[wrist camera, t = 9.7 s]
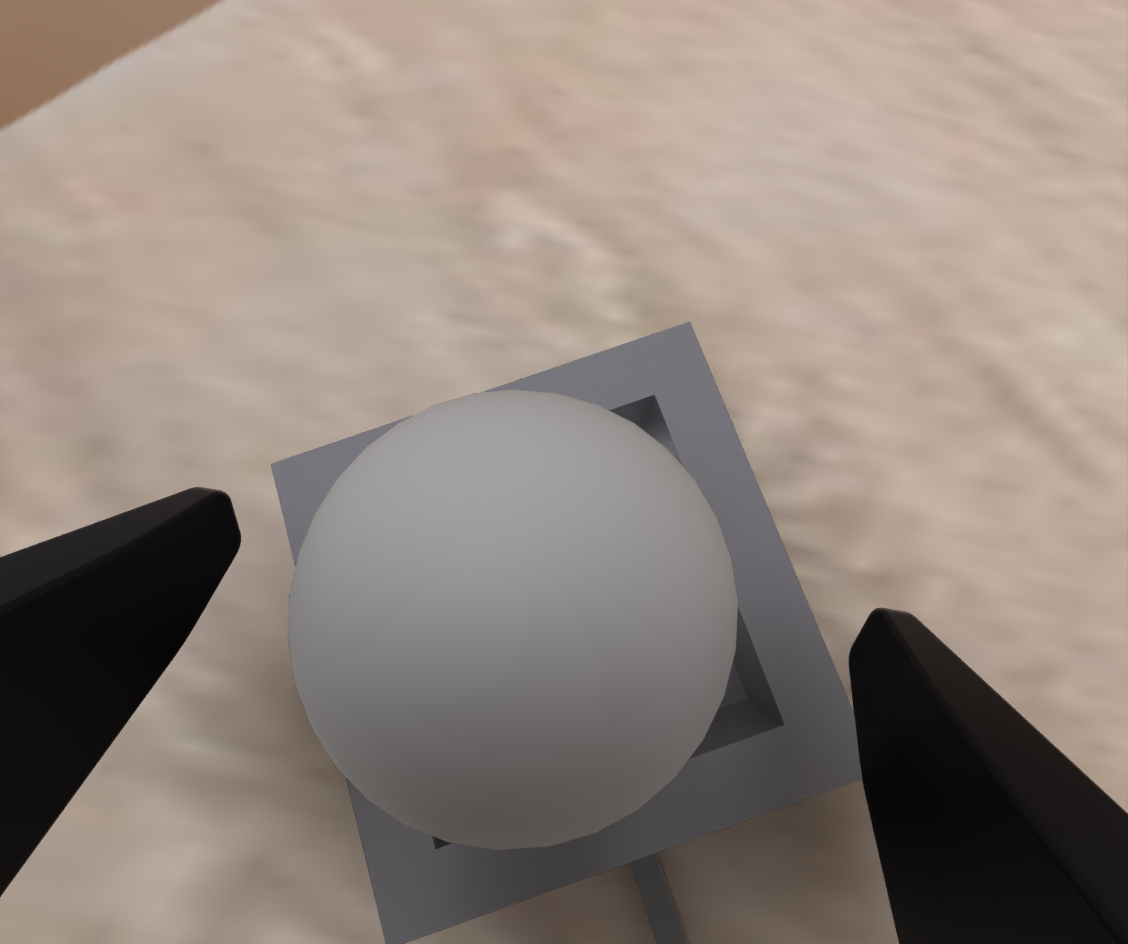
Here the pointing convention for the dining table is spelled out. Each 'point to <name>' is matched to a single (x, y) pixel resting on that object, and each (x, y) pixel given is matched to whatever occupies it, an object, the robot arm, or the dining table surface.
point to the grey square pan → (742, 722)
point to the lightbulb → (512, 619)
